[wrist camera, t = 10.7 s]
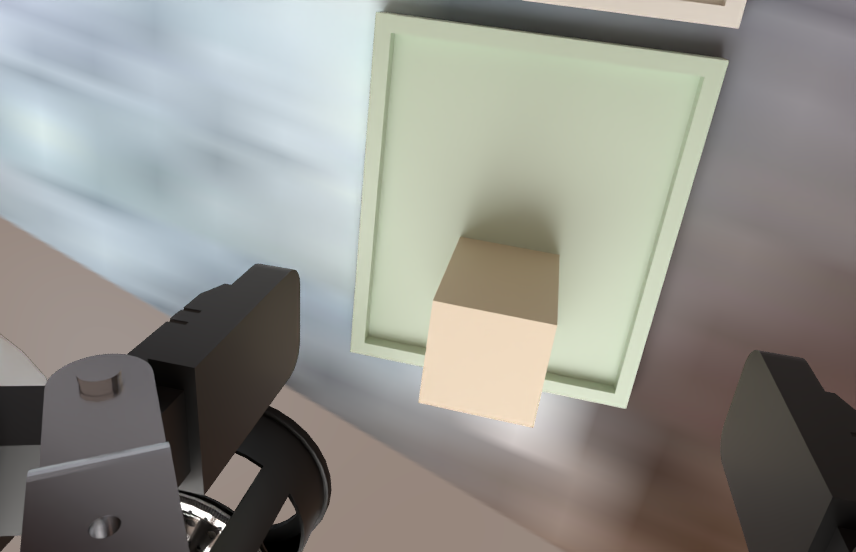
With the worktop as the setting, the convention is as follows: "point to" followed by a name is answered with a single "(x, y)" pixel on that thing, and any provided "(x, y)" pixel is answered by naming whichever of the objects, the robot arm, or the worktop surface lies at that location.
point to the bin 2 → (527, 181)
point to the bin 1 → (668, 9)
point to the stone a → (492, 331)
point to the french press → (265, 494)
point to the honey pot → (17, 367)
